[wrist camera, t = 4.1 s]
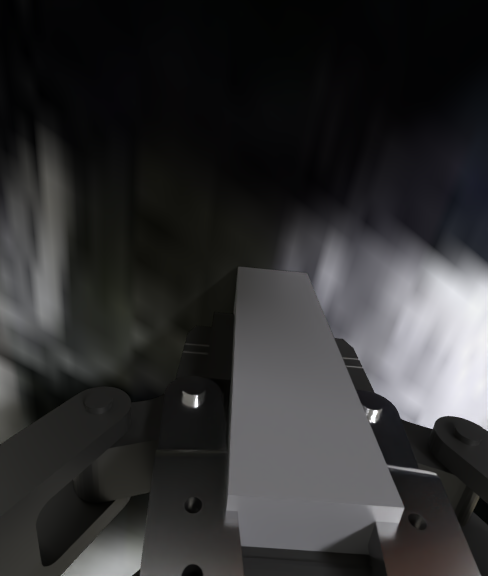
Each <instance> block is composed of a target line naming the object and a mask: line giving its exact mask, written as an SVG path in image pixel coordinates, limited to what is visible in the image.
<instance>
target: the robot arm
mask: <svg viewBox="0 0 488 576" xmlns="http://www.w3.org/2000/svg"><path fill="white" fill-rule="evenodd" d="M234 315H235V314H227V313H216V312H214V318H213V324H212V327H205V326H196V327H195V328H193V329H192V330H191V331H190V332H189V333H188V335H187V338H186V342H185V346H184V350H183V353H182V357H181V361H180V365H179V368H178V372H177V376H176V380H174V381H173V382H171V383H170V384H169V385H168V386H167V388H166V390H165V394H164V395H162V396H160V397H157V398H155V399H151V400H146V401H139V402H132V403H131V400H130V397H129V396H128V394H126V393H125V392H124V391H122V390H120V389H118V388H114V387H95V388H91V389H87V390H85V391H82V392H80V393H79V394H77V395H75V396H74V397H72V398H71V399H69V400H68V401H66V402H65V403H63V404H62V405H60V406H59V407H57V408H55V409H54V410H52V411H51V412H49V413H48V414H46V415H45V416H43V417H42V418H40V419H39V420H37V421H36V422H34V423H32V424H31V425H29V426H28V427H26V428H25V429H23V430H22V431H20V432H19V433H17V434H16V435H14V436H12V437H11V438H9V439H8V440H6V441H5V442H3V443H2V444H0V576H61V574H62V573H63V572H64V571H65V570H66V569H67V568H68V567H69V566H70V565H71V564H72V563H73V562H74V560H75V559H76V558H77V557H78V556H79V555H80V554H81V553H82V552H83V551H84V550H85V549H86V548H87V546H88V545H89V544H90V543H91V542H92V541H93V540H94V539H95V538H96V537H97V536H98V535H99V534H100V532H101V531H102V530H103V529H104V528H105V527H106V526H107V525H108V524H109V523H110V522H111V521H112V520H113V518H114V517H115V516H116V515H117V514H118V513H119V512H120V511H121V510H122V509H123V508H124V507H125V505H126V504H127V503H128V501H129V499H130V497H131V496H135V495H139V494H144V493H148V492H150V497H149V505H148V513H147V521H146V529H145V537H144V545H143V553H142V560H141V568H140V570H139V571H137V572H136V573H135V574H134V575H132V576H488V525H487V524H486V523H485V522H484V521H483V520H481V519H480V518H479V517H478V516H477V515H476V514H475V513H474V512H473V510H474V508H475V506H476V504H477V502H478V499H479V497H480V498H482V499H483V500H484V501H485V502H486V503H487V504H488V431H486V430H485V429H483V428H482V427H480V426H479V425H477V424H475V423H473V422H471V421H468V420H466V419H463V418H459V417H453V416H445V417H441V418H439V419H438V420H437V421H436V422H435V424H434V427H433V429H430V428H426V427H423V426H420V425H416V424H413V423H410V422H407V421H404V420H402V419H400V416H399V413H398V411H397V409H396V408H395V406H394V405H393V404H392V403H391V402H390V401H388V400H387V399H386V398H384V397H382V396H380V395H378V394H376V393H374V391H373V388H372V386H371V384H370V382H369V380H368V378H367V376H366V374H365V372H364V369H363V368H362V365H361V363H360V361H359V360H358V357H357V355H356V353H355V351H354V348H353V347H351V346H350V345H349V344H348V343H347V342H346V341H345V340H343V339H337V338H334V339H335V342H336V344H337V346H338V349H339V351H340V354H341V356H342V359H343V361H344V363H345V366H346V368H347V371H348V373H349V375H350V378H351V380H352V383H353V385H354V387H355V390H356V392H357V395H358V397H359V399H360V402H361V404H362V407H363V409H364V411H365V414H366V416H367V419H368V421H369V423H370V426H371V428H372V431H373V433H374V435H375V438H376V440H377V443H378V445H379V447H380V450H381V452H382V455H383V457H384V460H385V462H386V464H387V467H388V469H389V472H390V474H391V476H392V479H393V481H394V484H395V486H396V488H397V491H398V493H399V496H400V498H401V500H402V503H403V505H404V511H403V514H402V516H401V519H400V522H399V523H392V522H378V521H376V522H375V525H374V528H373V531H372V534H371V537H370V540H369V543H368V550H369V555H365V554H351V553H336V552H322V551H307V550H293V549H278V548H264V547H249V546H241V541H240V531H239V521H238V511H226V505H227V484H228V463H229V449H227V447H226V435H225V433H226V424H227V414H228V405H229V395H230V386H231V373H232V353H233V334H234ZM328 325H329V324H328ZM329 327H330V326H329ZM330 330H331V329H330ZM331 332H332V331H331ZM333 337H334V336H333Z"/></svg>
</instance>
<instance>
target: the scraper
mask: <svg viewBox="0 0 488 576" xmlns="http://www.w3.org/2000/svg"><path fill="white" fill-rule="evenodd" d="M233 314H235V315H234V334H233V353H232V373H231V386H230V395H229V405H228V414H227V424H226V433H225V435H226V447H227V449H229V463H228V484H227V505H226V511H238V521H239V531H240V541H241V546H249V547H264V548H278V549H293V550H307V551H322V552H336V553H351V554H365V555H369V550H368V543H369V540H370V537H371V534H372V531H373V528H374V525H375V522H376V521H378V522H392V523H399V522H400V519H401V516H402V514H403V511H404V505H403V503H402V500H401V498H400V496H399V493H398V491H397V488H396V486H395V484H394V481H393V479H392V476H391V474H390V472H389V469H388V467H387V464H386V462H385V460H384V457H383V455H382V452H381V450H380V447H379V445H378V443H377V440H376V438H375V435H374V433H373V431H372V428H371V426H370V423H369V421H368V419H367V416H366V414H365V411H364V409H363V407H362V404H361V402H360V399H359V397H358V395H357V392H356V390H355V387H354V385H353V383H352V380H351V378H350V375H349V373H348V371H347V368H346V366H345V363H344V361H343V359H342V356H341V354H340V351H339V349H338V346H337V344H336V342H335V339H334V337H333V334H332V332H331V330H330V327H329V325H328V322H327V320H326V318H325V315H324V313H323V310H322V308H321V306H320V303H319V301H318V298H317V296H316V294H315V291H314V289H313V286H312V284H311V282H310V279H309V277H308V274H307V273H301V272H291V271H280V270H269V269H259V268H248V267H238V273H237V283H236V293H235V303H234V313H233Z"/></svg>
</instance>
